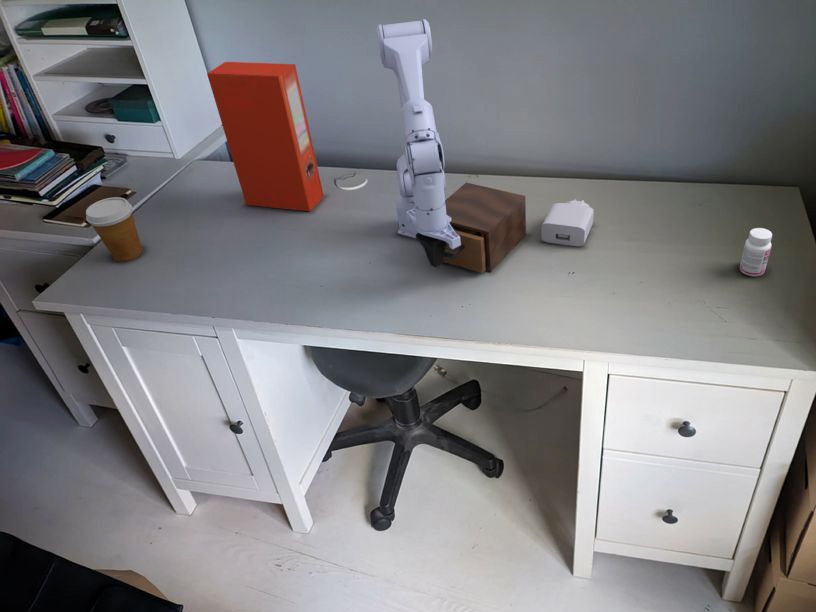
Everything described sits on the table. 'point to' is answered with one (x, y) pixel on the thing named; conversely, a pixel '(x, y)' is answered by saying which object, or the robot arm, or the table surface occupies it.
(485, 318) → the table surface
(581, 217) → the charger
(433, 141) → the robot arm
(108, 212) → the disposable coffee cup
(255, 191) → the file binder
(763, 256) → the pill bottle
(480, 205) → the cabinet
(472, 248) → the drawer
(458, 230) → the tin
